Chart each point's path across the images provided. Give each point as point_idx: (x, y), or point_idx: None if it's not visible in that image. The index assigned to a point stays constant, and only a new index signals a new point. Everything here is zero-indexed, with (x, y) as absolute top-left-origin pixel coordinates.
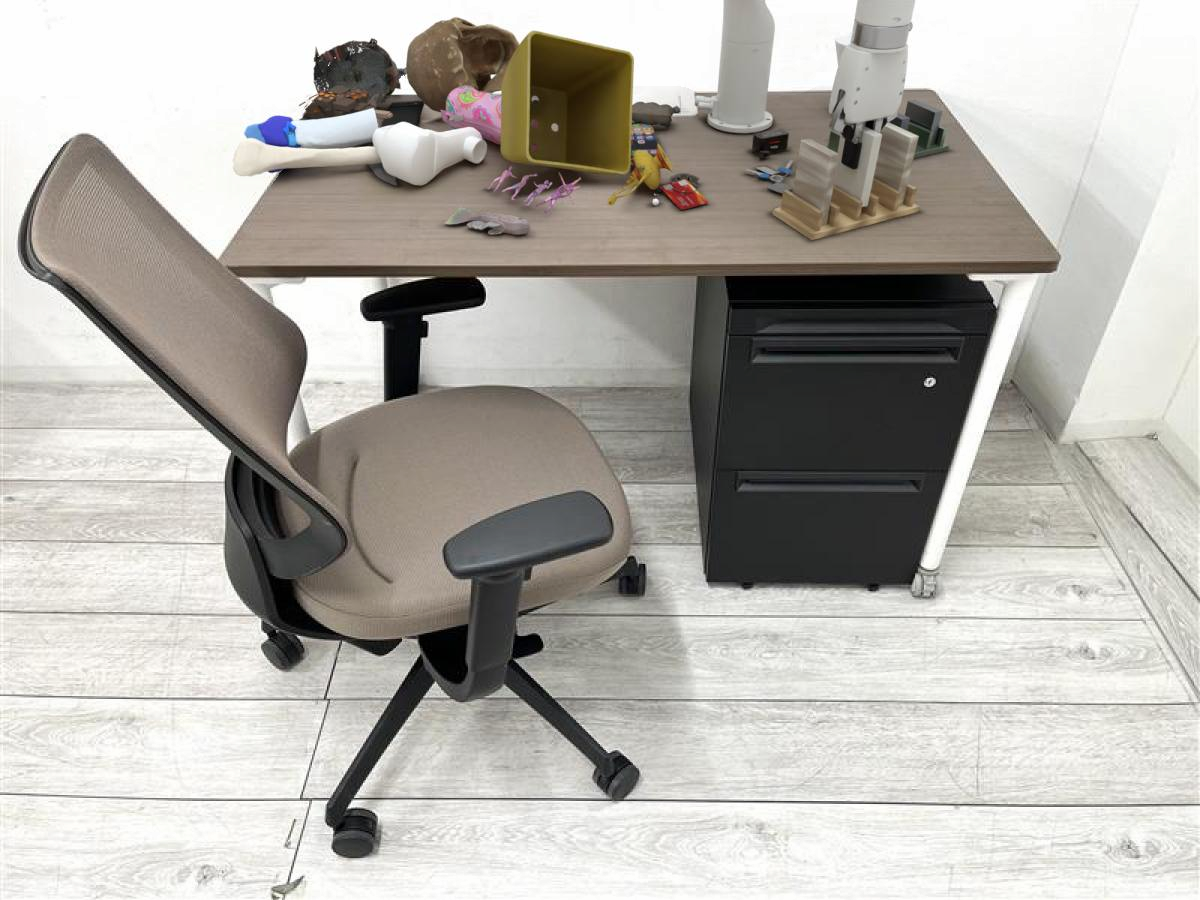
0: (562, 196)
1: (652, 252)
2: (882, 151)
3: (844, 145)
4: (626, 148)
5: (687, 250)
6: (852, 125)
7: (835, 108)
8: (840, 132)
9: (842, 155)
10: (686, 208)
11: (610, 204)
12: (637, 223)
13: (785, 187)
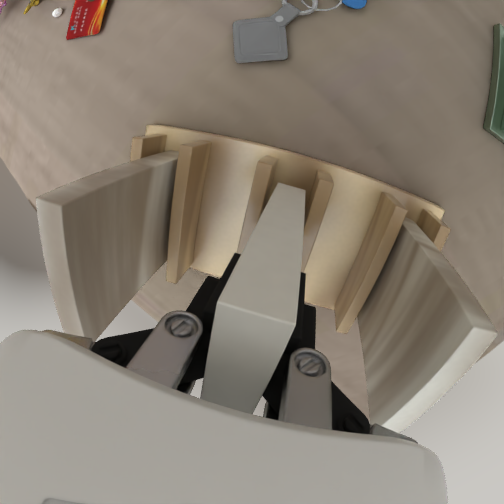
0: (4, 4)
1: (6, 137)
2: (415, 303)
3: (190, 306)
4: None
5: (23, 153)
6: (211, 365)
7: (45, 361)
8: (123, 336)
9: (205, 281)
10: (71, 38)
11: (35, 5)
12: (24, 59)
13: (263, 50)
